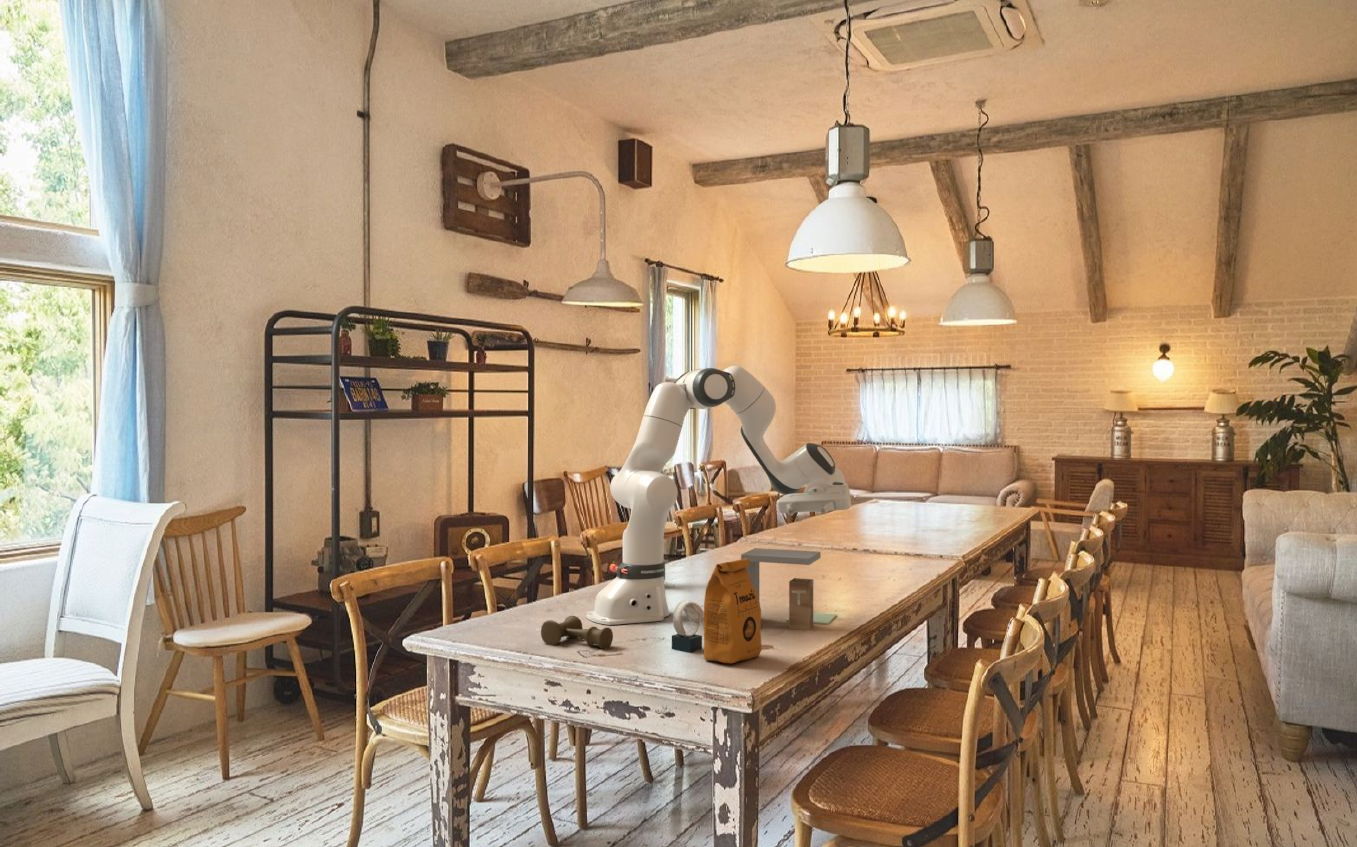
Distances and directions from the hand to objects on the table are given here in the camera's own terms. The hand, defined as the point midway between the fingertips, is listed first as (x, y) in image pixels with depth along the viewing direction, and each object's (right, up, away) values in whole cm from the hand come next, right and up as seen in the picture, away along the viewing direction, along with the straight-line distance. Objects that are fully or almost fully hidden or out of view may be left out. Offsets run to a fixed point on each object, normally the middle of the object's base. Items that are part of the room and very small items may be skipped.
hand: (806, 511), depth 253 cm
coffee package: (-22, -29, -43) cm, 57 cm away
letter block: (-3, -28, -13) cm, 31 cm away
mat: (+1, -28, -3) cm, 28 cm away
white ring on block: (-32, -29, -34) cm, 55 cm away
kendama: (-59, -29, -29) cm, 72 cm away
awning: (-8, -28, -11) cm, 31 cm away
